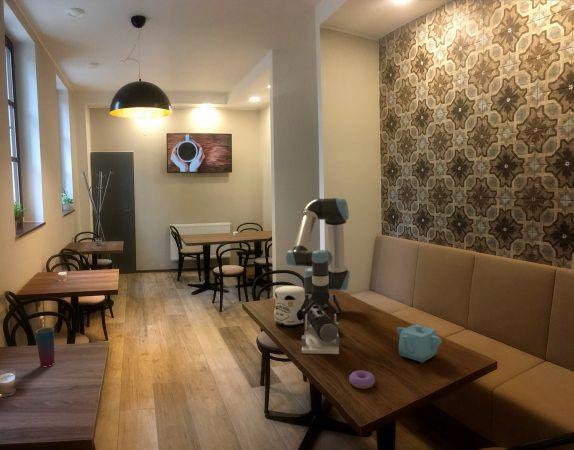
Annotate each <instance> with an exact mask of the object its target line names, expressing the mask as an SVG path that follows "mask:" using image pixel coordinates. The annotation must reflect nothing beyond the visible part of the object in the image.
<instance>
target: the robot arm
mask: <svg viewBox="0 0 574 450" xmlns="http://www.w3.org/2000/svg"><path fill="white" fill-rule="evenodd" d="M349 213H350V212H349V205H348V203H347V200H346V199H345V198H337V197H336V198H335V197H333V198H316V199H314V200H311V201H310V202H308V203H307V204H306V205H305V206H304V208H303V209H302V211H301V213H300V220H301V221H300V224H299V228H298V230H297V234H296V237H295V242H294V245H293V249H291V250H290V249H289V250H287V252H286V255H285V260H286V264H287V265H288V266H290V267H291V266H293V267H308V268H306V269H305V270H304V272H303V274H304V275H303V283H304V284H303V285H304V287H303V288H304V290H305V300H304V302H303V304H302V306H301V308H300V310H299V314H302V315H303V322H305V327H306V329H307V321H308V320H307V314H306V313H307V312H308V311H309V310H310V309H311V307H312V306H313V305H314V304H317V305H319V306H320V307H321V308H322V309H323V310H325V309H327V308H330V310H332V312H333V313H334V322H335V324H336V322H338V323H339V322H340V315H343V313H344V311H343V309H342V307H341V305H340V304H339V302H338V299H337V297H336V293H331V294H330V291H340V292H342V291H347V290H348V289H349V285H350V278H351V271H350V270H348V266H347V265H346V264H345V263H346V262H345V244H344V243H345V236H344V234H345V233H344V225H346V223H347V221H348V220H349V216H350V214H349ZM319 220H321V221H323V220H324V224H325V225H326V226H327V232H328V233H327V235H328V236H327V237H328V250H327V249H317V250H309V249H310V245H311V241H312V237H313V232H314V230H315V229H314V228H315V224H317V223H318V221H319ZM330 298H331V300H332V301H333V303H334V305H335V306H336V307H335V306H334V305H333V304H332V303H331V302H330V300H329V299H330ZM304 307H306V309H305V310H304V311H303V309H304ZM314 309H316V308H314Z"/></svg>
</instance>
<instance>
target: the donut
mask: <svg viewBox="0 0 574 450" xmlns="http://www.w3.org/2000/svg"><path fill="white" fill-rule="evenodd" d="M348 381H349V383H350V384H351V385H352V386H353V387H354V388H357V389H361V390H364V389H365V390H367V389H370V388H372V387H373V386H374V384H375V382H376V378H375V375H374V374H373V373H372V372H370V371H368V370H363V369H362V370H361V369H359V370H355V371H353V372H352V373H350V374H349V378H348Z"/></svg>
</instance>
